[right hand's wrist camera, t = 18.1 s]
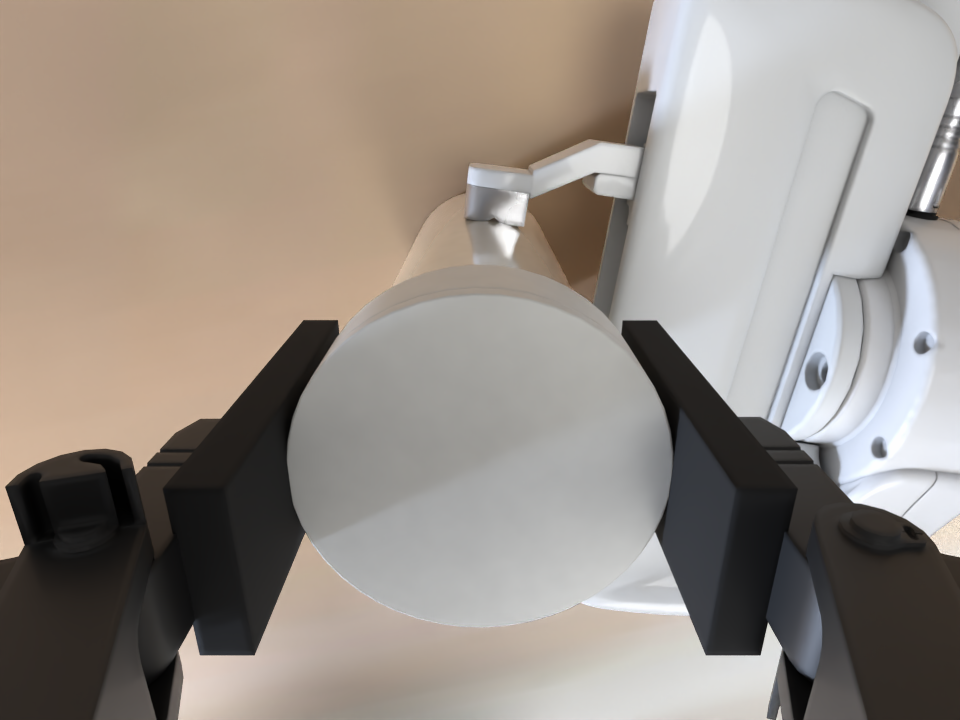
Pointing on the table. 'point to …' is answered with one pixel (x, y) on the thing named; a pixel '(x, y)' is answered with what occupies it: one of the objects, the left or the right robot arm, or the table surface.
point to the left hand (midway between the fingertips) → (452, 301)
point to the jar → (478, 244)
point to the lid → (480, 449)
